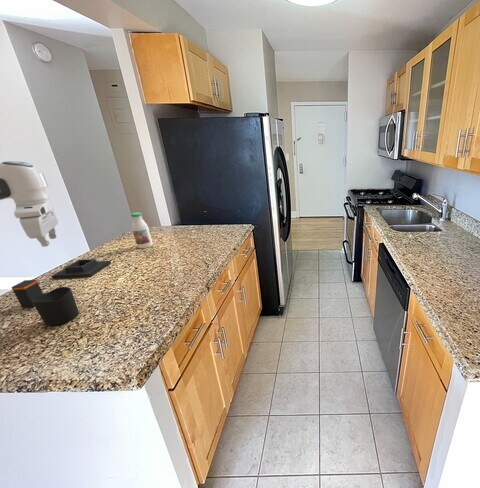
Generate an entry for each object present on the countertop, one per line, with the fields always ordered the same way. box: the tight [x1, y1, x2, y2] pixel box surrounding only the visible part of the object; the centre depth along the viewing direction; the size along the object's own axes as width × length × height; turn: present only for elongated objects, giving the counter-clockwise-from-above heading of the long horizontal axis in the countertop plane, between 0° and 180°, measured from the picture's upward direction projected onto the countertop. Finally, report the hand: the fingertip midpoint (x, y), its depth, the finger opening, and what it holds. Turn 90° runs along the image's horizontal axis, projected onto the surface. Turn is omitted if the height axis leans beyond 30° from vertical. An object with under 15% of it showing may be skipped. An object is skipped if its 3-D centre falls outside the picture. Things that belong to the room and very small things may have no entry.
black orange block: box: [10, 279, 44, 309], centre depth 97 cm, size 4×5×9 cm
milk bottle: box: [130, 212, 154, 249], centre depth 148 cm, size 8×8×20 cm
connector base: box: [51, 258, 112, 280], centre depth 123 cm, size 16×14×4 cm
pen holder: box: [31, 286, 80, 327], centre depth 89 cm, size 9×9×10 cm
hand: (50, 242), depth 101 cm, fingers open, 8 cm apart
